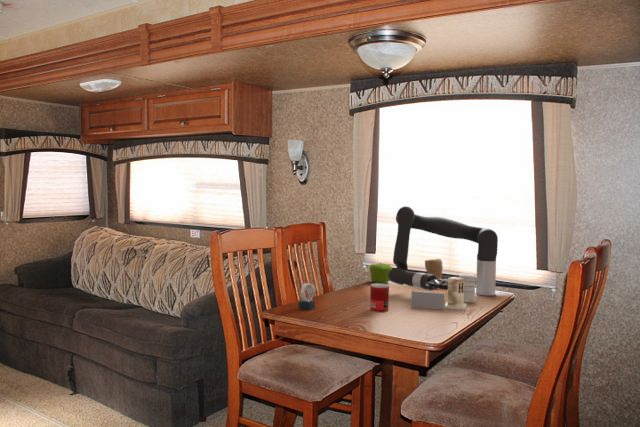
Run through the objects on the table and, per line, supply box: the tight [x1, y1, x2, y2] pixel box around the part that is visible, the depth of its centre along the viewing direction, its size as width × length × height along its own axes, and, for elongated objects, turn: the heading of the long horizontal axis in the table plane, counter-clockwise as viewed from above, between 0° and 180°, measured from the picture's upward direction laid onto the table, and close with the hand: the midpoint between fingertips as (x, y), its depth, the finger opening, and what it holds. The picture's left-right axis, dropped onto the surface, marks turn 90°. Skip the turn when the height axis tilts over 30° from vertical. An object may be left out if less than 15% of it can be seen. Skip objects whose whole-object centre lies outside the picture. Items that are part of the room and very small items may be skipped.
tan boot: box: [424, 258, 444, 280], centre depth 285 cm, size 15×12×15 cm
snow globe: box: [298, 282, 316, 311], centre depth 227 cm, size 6×8×11 cm
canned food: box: [369, 282, 390, 313], centre depth 227 cm, size 8×8×11 cm
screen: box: [410, 290, 445, 310], centre depth 232 cm, size 2×14×7 cm, turn 70°
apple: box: [369, 262, 393, 284], centre depth 293 cm, size 12×12×11 cm
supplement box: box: [458, 272, 476, 303], centre depth 248 cm, size 7×7×13 cm
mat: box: [444, 301, 467, 311], centre depth 234 cm, size 9×9×1 cm
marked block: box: [447, 276, 465, 306], centre depth 234 cm, size 5×5×12 cm
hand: (453, 286), depth 235 cm, fingers open, 8 cm apart
